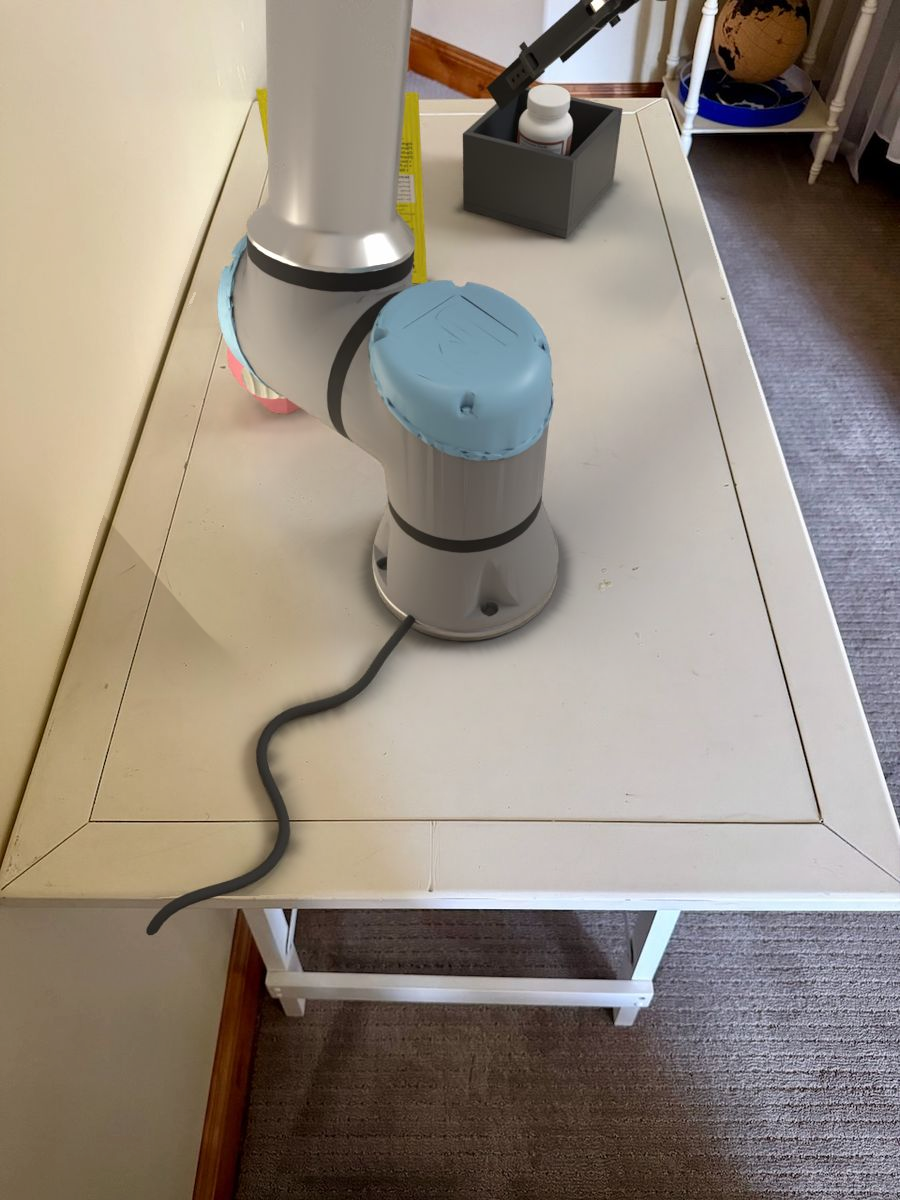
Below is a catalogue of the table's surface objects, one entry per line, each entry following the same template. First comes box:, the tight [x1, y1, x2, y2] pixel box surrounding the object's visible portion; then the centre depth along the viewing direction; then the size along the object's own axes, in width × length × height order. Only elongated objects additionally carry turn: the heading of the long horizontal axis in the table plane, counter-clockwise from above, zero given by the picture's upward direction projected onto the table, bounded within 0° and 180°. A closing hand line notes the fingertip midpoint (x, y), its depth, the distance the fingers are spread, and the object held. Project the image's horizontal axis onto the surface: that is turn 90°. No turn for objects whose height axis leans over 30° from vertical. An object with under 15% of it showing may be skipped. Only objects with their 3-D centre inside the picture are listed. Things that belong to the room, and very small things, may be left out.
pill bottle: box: [517, 83, 573, 156], centre depth 103 cm, size 6×6×11 cm
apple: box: [226, 346, 301, 415], centre depth 83 cm, size 10×9×10 cm
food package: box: [255, 88, 428, 285], centre depth 91 cm, size 15×1×20 cm, turn 84°
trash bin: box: [462, 86, 624, 239], centre depth 106 cm, size 14×14×9 cm
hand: (527, 74), depth 99 cm, fingers open, 13 cm apart
